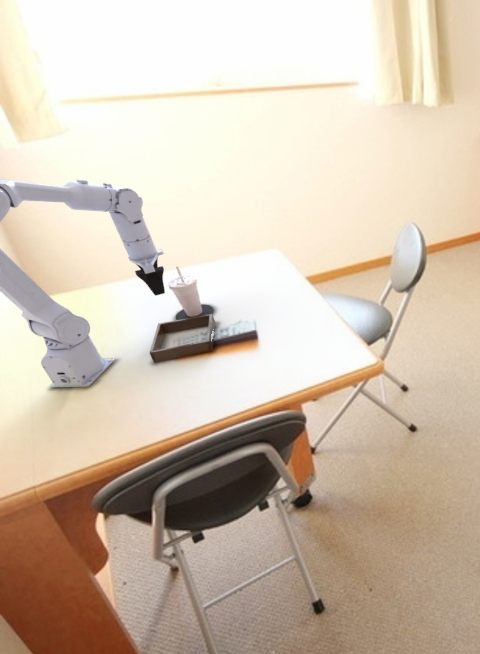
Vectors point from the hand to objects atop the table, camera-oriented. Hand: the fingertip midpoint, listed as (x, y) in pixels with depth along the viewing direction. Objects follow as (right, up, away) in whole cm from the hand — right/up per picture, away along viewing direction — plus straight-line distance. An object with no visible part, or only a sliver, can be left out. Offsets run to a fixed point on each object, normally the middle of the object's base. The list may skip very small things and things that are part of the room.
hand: (157, 287), depth 122 cm
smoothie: (+4, -6, +9) cm, 12 cm away
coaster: (+4, -6, +9) cm, 12 cm away
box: (+8, -14, -2) cm, 16 cm away
